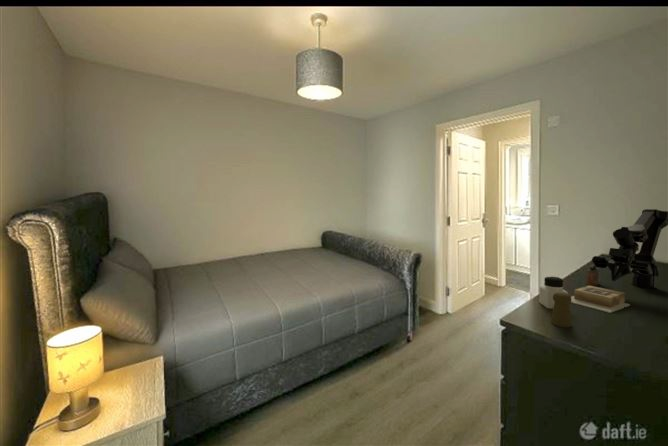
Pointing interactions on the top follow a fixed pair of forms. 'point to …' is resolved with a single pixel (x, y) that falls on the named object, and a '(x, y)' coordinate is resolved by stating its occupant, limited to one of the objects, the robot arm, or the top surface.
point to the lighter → (592, 275)
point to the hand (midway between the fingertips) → (613, 280)
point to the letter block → (599, 296)
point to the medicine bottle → (550, 291)
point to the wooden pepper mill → (561, 310)
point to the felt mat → (599, 307)
